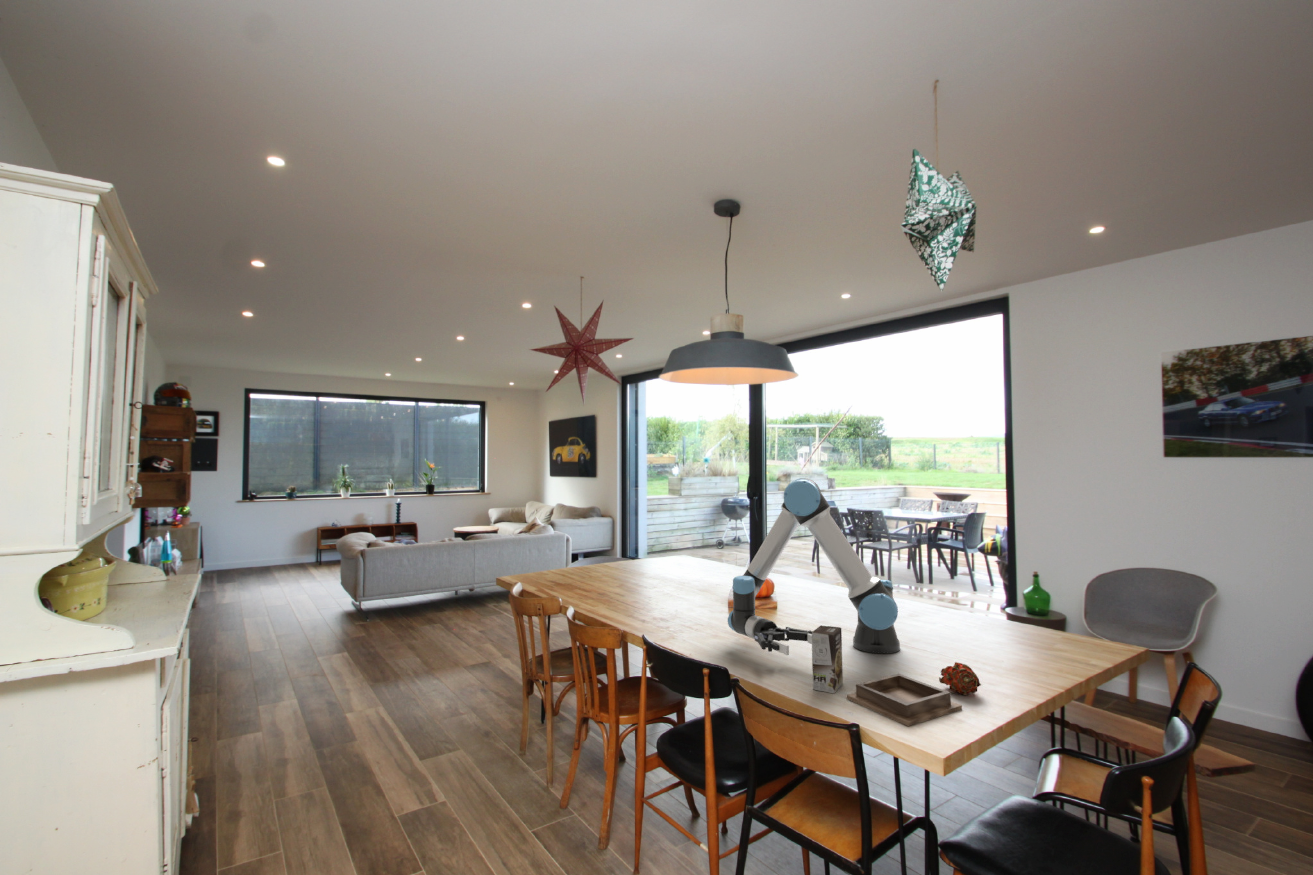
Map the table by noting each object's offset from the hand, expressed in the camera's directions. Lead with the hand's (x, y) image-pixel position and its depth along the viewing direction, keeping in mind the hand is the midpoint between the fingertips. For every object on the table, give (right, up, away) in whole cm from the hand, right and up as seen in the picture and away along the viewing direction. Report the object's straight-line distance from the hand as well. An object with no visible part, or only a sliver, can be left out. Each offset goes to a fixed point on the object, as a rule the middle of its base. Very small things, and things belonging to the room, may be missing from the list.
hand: (805, 646), depth 181 cm
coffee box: (+4, -9, -8) cm, 13 cm away
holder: (+20, -8, -21) cm, 30 cm away
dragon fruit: (+39, -8, -13) cm, 42 cm away
